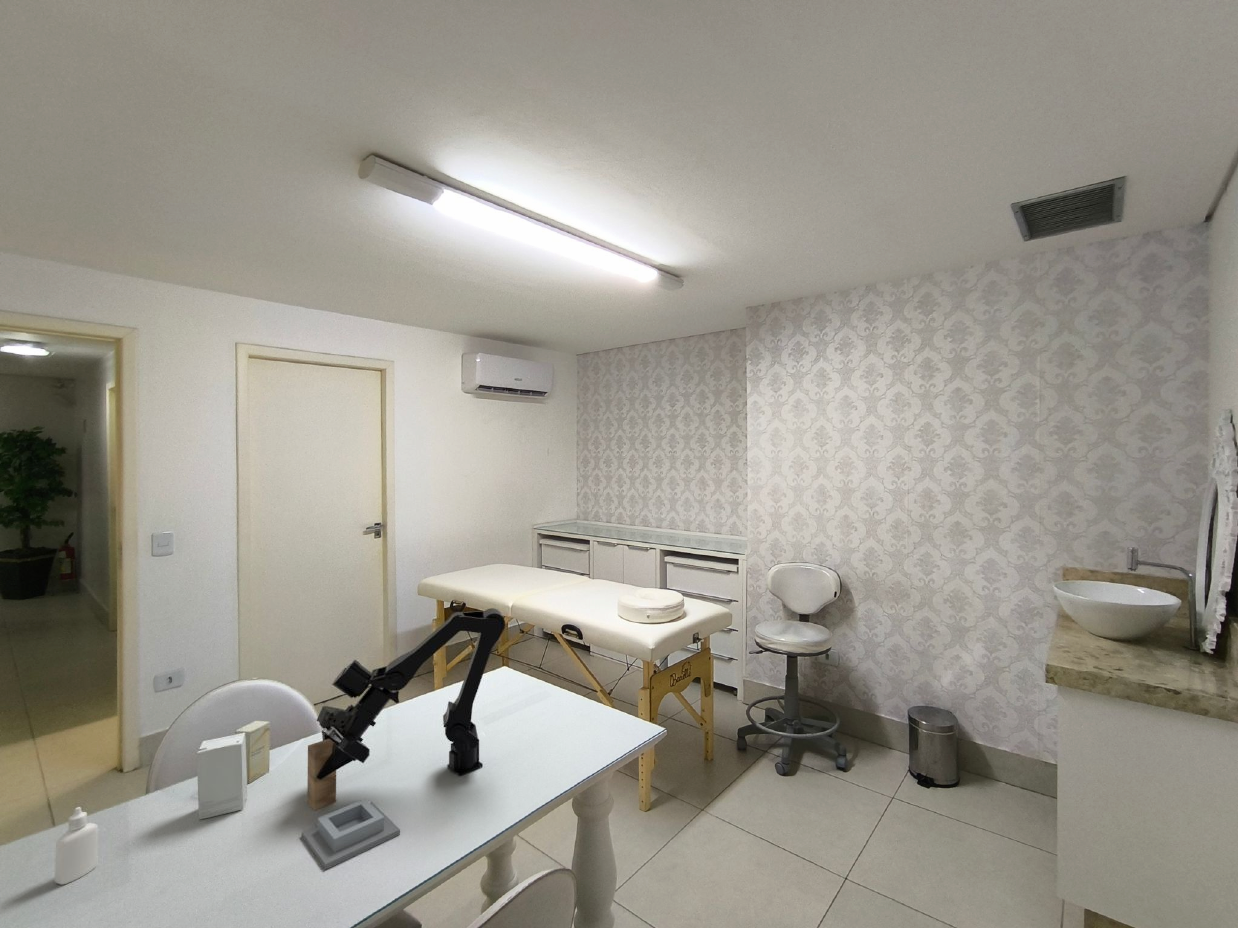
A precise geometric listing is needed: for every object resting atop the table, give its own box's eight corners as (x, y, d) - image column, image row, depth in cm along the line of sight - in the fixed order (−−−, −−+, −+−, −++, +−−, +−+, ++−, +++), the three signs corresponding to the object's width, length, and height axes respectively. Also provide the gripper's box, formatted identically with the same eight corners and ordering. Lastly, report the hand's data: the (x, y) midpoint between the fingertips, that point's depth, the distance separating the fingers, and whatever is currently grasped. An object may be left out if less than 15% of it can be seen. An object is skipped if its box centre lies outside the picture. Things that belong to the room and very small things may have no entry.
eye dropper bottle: (55, 876, 101) (56, 809, 101) (97, 861, 105) (98, 796, 105) (54, 888, 98) (55, 819, 98) (98, 872, 102) (99, 806, 102)
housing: (371, 806, 122) (371, 790, 122) (399, 834, 112) (399, 816, 112) (301, 835, 112) (301, 818, 112) (325, 869, 102) (325, 850, 102)
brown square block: (328, 793, 127) (329, 738, 127) (336, 801, 124) (336, 744, 124) (307, 801, 124) (307, 745, 124) (314, 810, 121) (314, 752, 121)
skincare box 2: (248, 784, 131) (249, 732, 132) (233, 782, 132) (233, 730, 132) (270, 770, 137) (271, 721, 138) (255, 768, 138) (255, 719, 139)
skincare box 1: (247, 797, 126) (248, 730, 126) (242, 811, 120) (243, 742, 121) (202, 806, 122) (203, 738, 123) (195, 821, 117) (196, 750, 117)
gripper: (329, 681, 134) (276, 742, 126) (354, 703, 120) (297, 773, 113) (363, 704, 139) (314, 764, 131) (391, 728, 126) (338, 797, 118)
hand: (315, 774), depth 123 cm, fingers closed on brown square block, 5 cm apart
